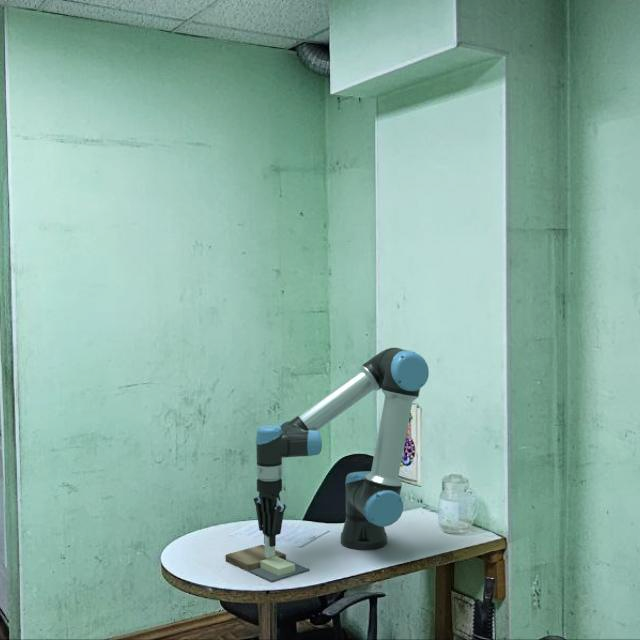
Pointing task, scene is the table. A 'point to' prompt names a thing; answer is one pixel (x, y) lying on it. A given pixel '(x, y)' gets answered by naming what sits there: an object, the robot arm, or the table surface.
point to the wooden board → (250, 557)
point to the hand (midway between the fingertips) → (269, 556)
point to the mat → (274, 577)
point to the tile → (277, 566)
